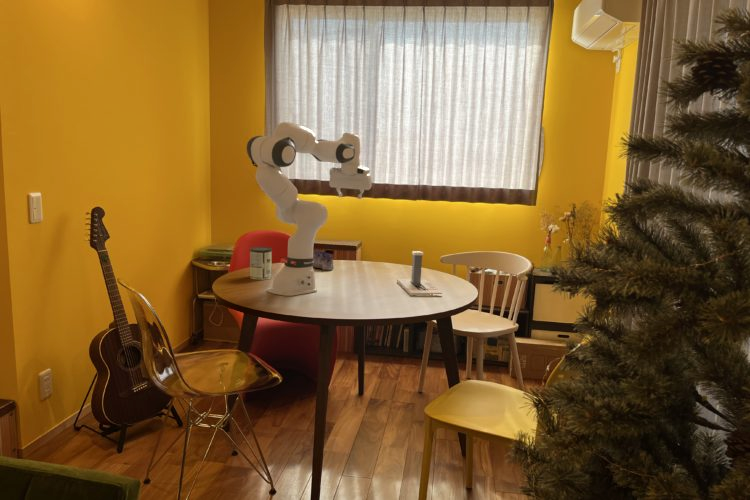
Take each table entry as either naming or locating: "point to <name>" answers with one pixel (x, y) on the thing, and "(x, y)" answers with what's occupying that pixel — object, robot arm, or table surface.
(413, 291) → the console
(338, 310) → the table surface
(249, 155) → the robot arm
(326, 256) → the geode
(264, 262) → the coffee can
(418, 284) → the fader tab
